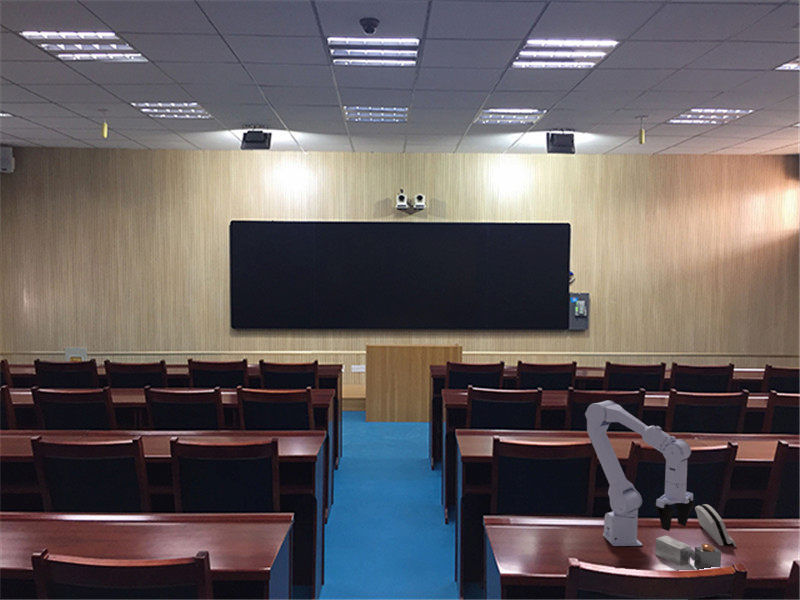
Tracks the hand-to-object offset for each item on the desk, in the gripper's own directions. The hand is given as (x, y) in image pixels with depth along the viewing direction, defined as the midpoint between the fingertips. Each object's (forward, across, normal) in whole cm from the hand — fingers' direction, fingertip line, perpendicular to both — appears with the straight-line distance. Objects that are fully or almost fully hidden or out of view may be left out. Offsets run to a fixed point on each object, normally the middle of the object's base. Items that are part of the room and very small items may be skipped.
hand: (673, 527), depth 172 cm
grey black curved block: (+10, +28, +5) cm, 30 cm away
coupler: (+9, +5, -5) cm, 12 cm away
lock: (+10, 0, 0) cm, 10 cm away
